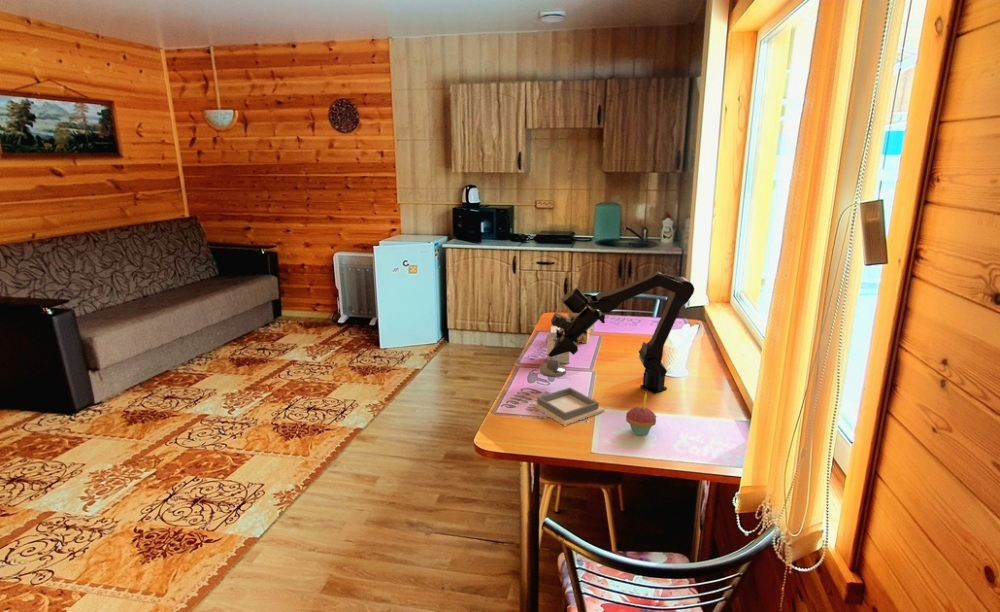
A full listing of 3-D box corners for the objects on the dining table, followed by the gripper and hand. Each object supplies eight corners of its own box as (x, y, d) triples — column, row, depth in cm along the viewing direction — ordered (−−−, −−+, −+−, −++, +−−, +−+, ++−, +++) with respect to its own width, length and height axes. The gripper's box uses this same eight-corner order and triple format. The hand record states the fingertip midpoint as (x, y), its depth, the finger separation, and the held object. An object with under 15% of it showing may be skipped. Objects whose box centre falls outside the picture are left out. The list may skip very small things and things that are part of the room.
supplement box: (568, 356, 216) (569, 326, 212) (569, 364, 209) (570, 332, 205) (549, 356, 217) (550, 325, 213) (549, 363, 210) (550, 332, 206)
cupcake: (633, 421, 165) (636, 385, 162) (660, 430, 160) (663, 393, 157) (620, 433, 159) (622, 395, 156) (647, 442, 154) (650, 403, 150)
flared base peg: (571, 372, 186) (572, 339, 183) (550, 379, 181) (551, 345, 178) (554, 364, 193) (555, 332, 190) (534, 370, 188) (534, 337, 185)
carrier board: (603, 411, 172) (604, 403, 171) (564, 426, 163) (564, 417, 162) (570, 393, 184) (570, 385, 183) (531, 405, 176) (531, 397, 175)
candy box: (566, 341, 233) (567, 306, 228) (568, 338, 236) (569, 304, 232) (587, 343, 230) (588, 308, 225) (589, 340, 233) (590, 305, 229)
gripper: (563, 298, 189) (531, 328, 193) (568, 314, 171) (532, 347, 175) (585, 319, 191) (553, 349, 195) (592, 338, 173) (557, 370, 177)
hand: (548, 353), depth 185 cm, fingers closed on flared base peg, 4 cm apart
